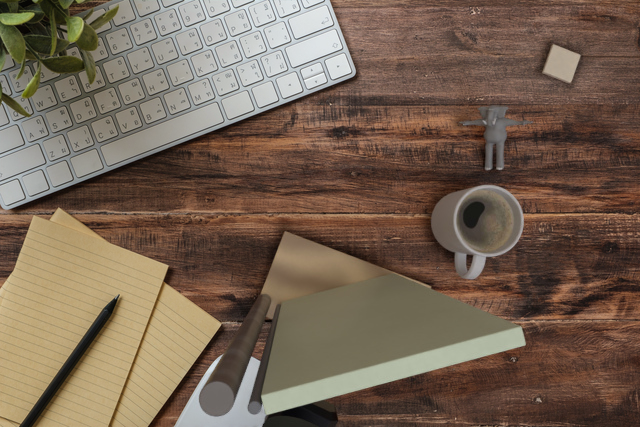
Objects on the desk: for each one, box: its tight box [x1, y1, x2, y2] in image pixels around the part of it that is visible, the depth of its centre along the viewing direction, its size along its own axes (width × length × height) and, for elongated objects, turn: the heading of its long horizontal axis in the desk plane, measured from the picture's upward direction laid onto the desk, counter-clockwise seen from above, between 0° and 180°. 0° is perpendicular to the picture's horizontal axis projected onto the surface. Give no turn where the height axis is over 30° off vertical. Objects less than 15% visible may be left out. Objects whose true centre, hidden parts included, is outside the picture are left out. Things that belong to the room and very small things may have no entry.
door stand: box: [198, 230, 432, 418], centre depth 47 cm, size 12×22×40 cm, turn 69°
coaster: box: [541, 43, 582, 84], centre depth 70 cm, size 4×4×1 cm
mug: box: [430, 184, 525, 280], centre depth 64 cm, size 11×10×10 cm
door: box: [247, 273, 527, 416], centre depth 47 cm, size 2×17×38 cm, turn 104°
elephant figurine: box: [458, 104, 534, 171], centre depth 67 cm, size 10×6×9 cm
